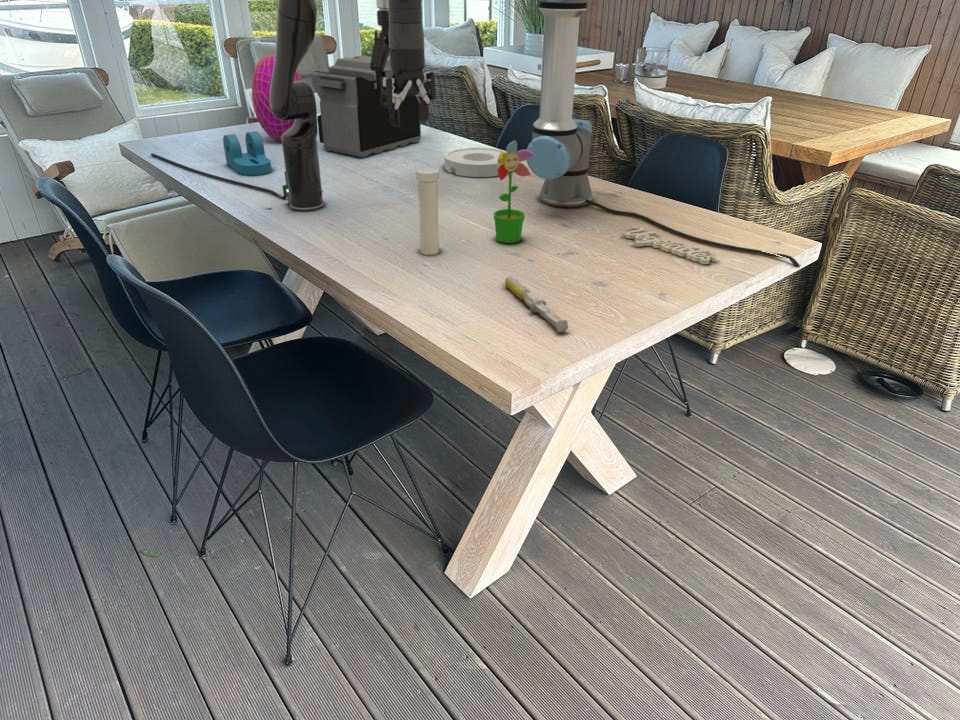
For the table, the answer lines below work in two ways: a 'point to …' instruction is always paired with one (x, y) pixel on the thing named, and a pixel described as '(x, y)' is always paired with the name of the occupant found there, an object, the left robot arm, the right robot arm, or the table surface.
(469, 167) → the white round base
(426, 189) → the beige long cylinder
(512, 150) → the potted flower
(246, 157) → the camera mount
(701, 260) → the decorative sign
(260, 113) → the decorative egg
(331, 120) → the portable cooler box
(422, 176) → the lid
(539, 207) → the table surface
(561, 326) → the syringe
